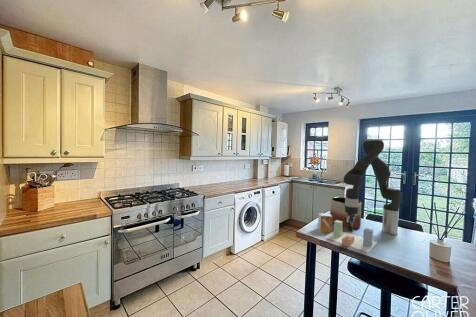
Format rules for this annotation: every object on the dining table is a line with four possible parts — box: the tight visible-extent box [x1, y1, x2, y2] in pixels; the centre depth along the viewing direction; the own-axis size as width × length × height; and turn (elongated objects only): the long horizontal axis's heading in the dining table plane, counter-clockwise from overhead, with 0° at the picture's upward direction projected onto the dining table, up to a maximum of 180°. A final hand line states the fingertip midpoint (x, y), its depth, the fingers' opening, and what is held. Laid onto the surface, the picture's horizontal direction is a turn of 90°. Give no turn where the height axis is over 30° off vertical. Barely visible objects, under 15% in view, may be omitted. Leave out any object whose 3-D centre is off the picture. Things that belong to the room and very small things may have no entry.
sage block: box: [333, 220, 343, 237], centre depth 140 cm, size 4×4×10 cm
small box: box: [317, 212, 333, 233], centre depth 148 cm, size 8×6×13 cm
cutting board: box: [324, 230, 378, 253], centre depth 134 cm, size 20×26×1 cm
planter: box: [329, 196, 362, 230], centre depth 164 cm, size 22×22×20 cm
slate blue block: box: [362, 227, 374, 247], centre depth 127 cm, size 4×4×10 cm
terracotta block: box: [341, 233, 354, 248], centre depth 129 cm, size 4×4×10 cm
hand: (350, 231), depth 130 cm, fingers closed
